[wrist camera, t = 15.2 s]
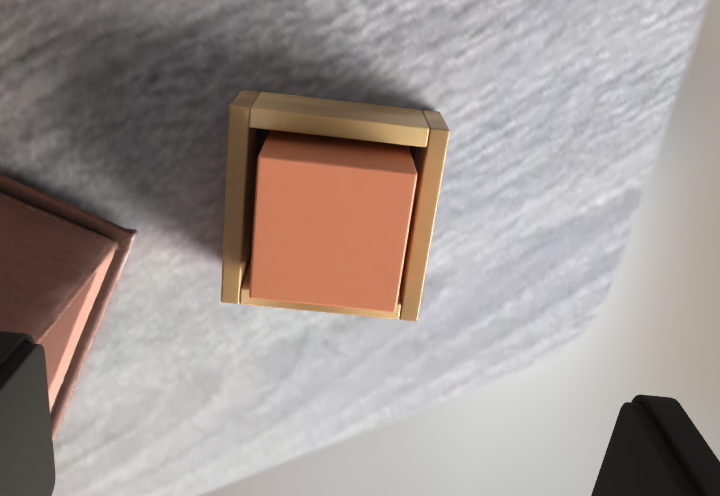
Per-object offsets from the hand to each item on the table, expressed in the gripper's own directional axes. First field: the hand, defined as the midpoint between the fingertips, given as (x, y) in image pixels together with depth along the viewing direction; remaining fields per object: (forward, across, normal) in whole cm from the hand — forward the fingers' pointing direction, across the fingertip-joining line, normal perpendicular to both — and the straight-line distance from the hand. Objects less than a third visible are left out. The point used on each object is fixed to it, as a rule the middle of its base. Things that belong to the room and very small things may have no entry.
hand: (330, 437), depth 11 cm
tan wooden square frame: (+13, 0, 0) cm, 13 cm away
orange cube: (+13, 0, 0) cm, 13 cm away
